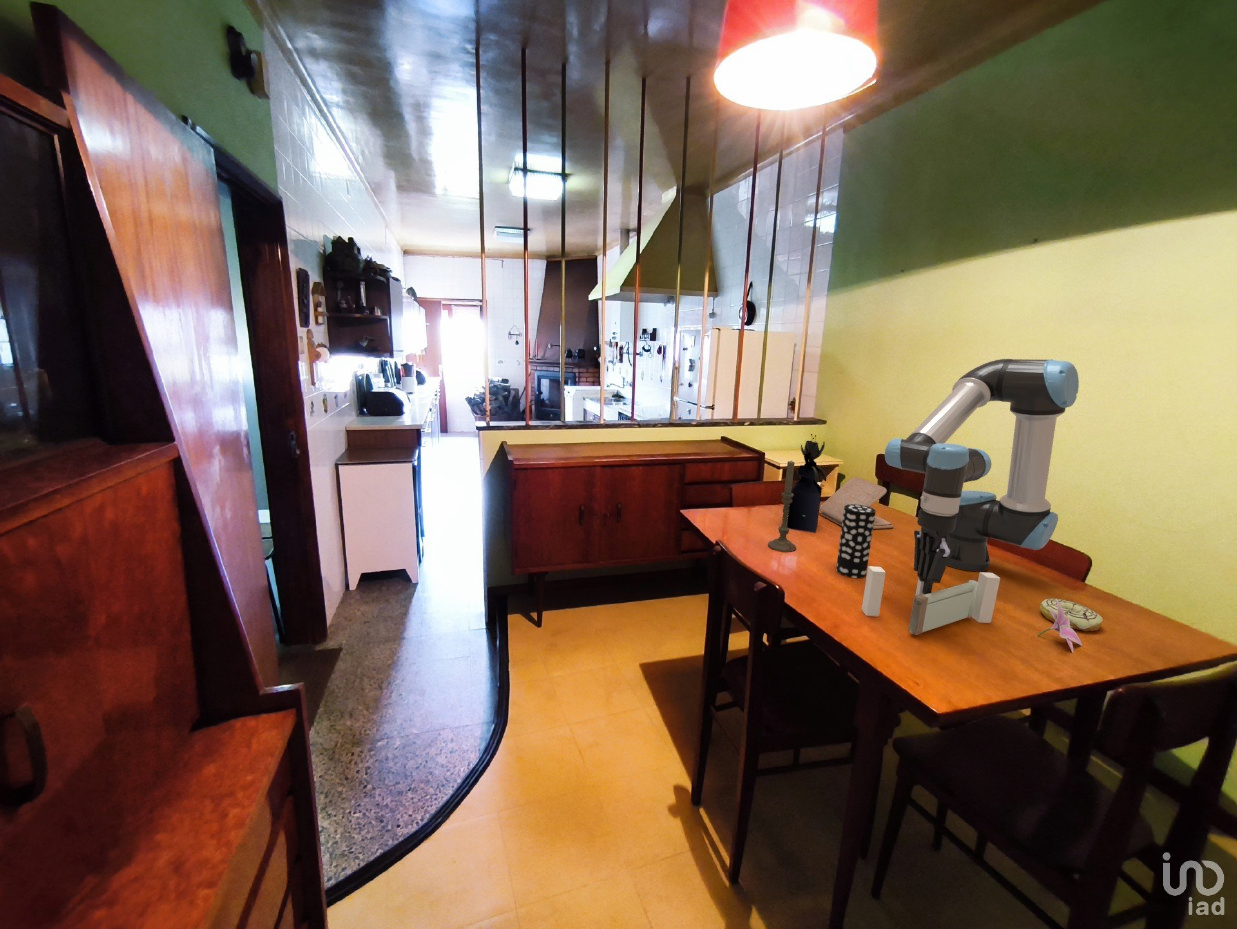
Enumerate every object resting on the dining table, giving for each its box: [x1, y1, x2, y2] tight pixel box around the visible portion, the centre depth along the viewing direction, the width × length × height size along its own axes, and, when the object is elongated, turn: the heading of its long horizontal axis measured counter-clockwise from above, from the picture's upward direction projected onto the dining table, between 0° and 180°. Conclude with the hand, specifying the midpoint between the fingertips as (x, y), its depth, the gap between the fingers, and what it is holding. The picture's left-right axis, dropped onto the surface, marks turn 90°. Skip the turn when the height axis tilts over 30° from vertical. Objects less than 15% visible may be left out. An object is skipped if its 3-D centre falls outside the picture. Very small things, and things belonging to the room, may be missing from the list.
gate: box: [908, 579, 978, 636], centre depth 123 cm, size 22×2×9 cm, turn 116°
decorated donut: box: [1039, 598, 1104, 633], centre depth 129 cm, size 11×12×4 cm
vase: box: [787, 433, 827, 534], centre depth 188 cm, size 14×12×35 cm
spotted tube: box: [835, 504, 877, 579], centre depth 152 cm, size 8×8×20 cm
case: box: [819, 476, 895, 530], centre depth 200 cm, size 20×21×16 cm
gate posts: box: [861, 565, 1001, 624], centre depth 128 cm, size 30×3×12 cm, turn 86°
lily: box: [1037, 598, 1083, 654], centre depth 119 cm, size 11×11×9 cm
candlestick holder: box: [767, 460, 797, 553], centre depth 169 cm, size 9×9×30 cm
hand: (921, 604), depth 124 cm, fingers closed
